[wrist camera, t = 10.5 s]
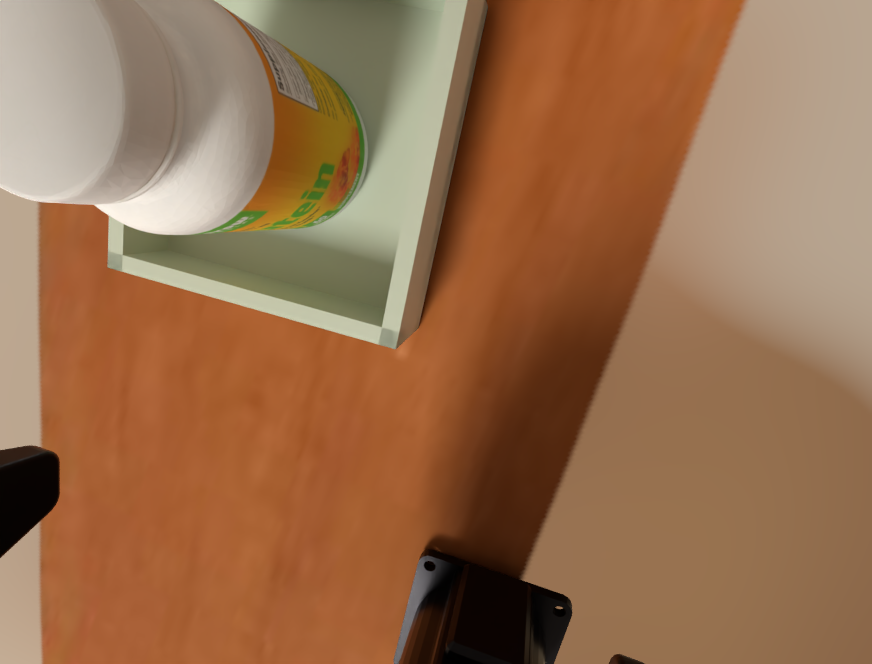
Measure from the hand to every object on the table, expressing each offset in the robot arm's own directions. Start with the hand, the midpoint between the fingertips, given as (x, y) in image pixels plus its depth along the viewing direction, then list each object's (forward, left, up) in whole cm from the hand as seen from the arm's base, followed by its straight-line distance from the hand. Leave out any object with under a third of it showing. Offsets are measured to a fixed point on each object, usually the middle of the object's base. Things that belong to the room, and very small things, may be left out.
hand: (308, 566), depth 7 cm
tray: (+6, +7, -12) cm, 15 cm away
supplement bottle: (+6, +7, -11) cm, 15 cm away
